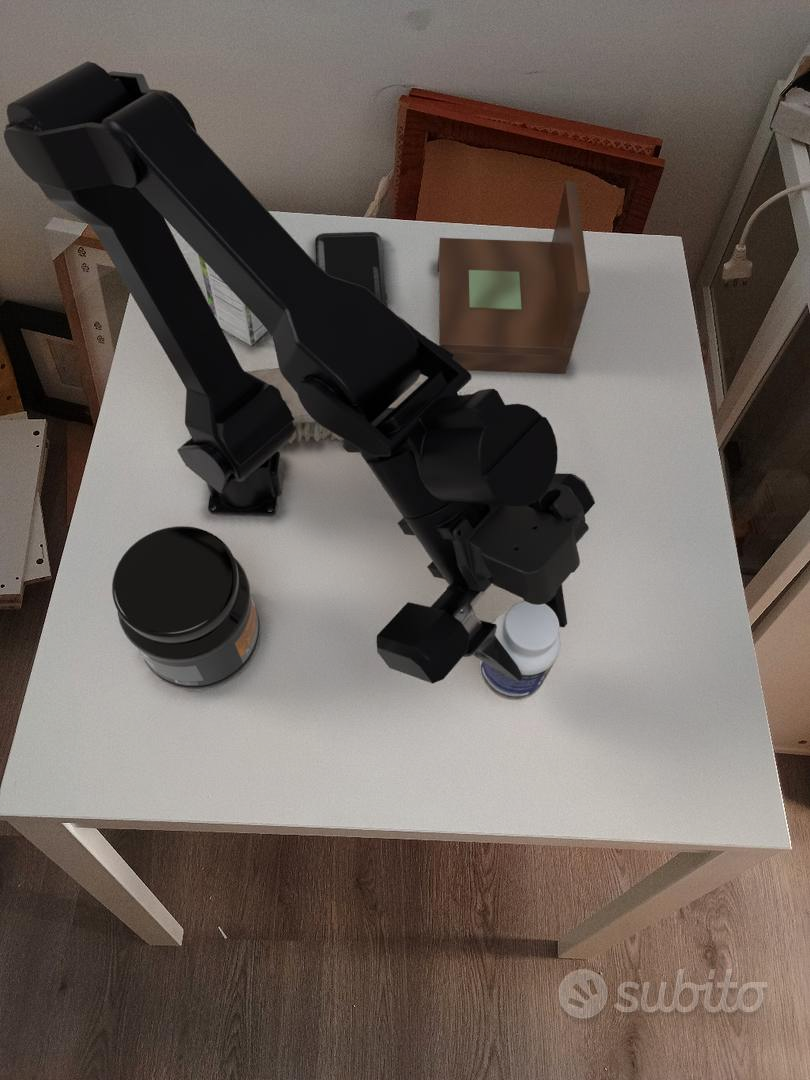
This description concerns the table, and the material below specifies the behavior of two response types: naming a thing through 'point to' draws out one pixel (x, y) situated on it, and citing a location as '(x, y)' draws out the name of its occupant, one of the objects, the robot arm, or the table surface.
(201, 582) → the supplement container
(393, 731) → the table surface
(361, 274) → the phone
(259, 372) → the shoe brush
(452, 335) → the wooden corner stand
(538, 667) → the pill bottle
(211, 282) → the syrup box
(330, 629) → the table surface
